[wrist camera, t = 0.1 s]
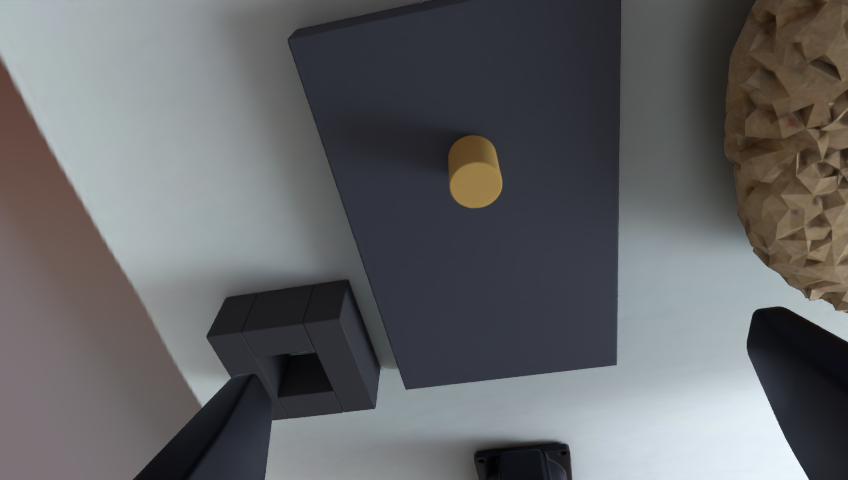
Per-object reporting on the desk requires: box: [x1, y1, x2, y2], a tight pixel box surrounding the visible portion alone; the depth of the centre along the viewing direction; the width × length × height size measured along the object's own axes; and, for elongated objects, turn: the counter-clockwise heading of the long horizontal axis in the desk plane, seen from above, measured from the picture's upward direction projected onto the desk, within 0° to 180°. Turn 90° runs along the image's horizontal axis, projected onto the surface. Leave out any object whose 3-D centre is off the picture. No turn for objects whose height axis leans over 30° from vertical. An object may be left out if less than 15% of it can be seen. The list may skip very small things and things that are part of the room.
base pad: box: [288, 0, 621, 390], centre depth 23 cm, size 20×12×4 cm, turn 11°
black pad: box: [206, 280, 380, 420], centre depth 28 cm, size 7×7×3 cm
